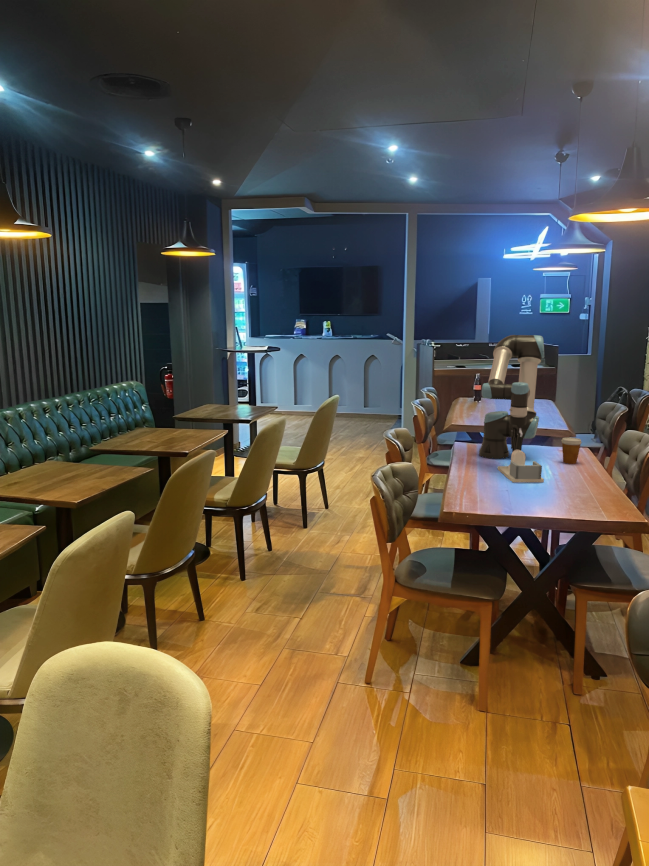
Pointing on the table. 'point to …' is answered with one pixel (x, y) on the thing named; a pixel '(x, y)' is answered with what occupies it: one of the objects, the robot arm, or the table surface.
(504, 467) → the dock
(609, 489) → the table surface
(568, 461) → the disposable coffee cup
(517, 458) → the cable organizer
